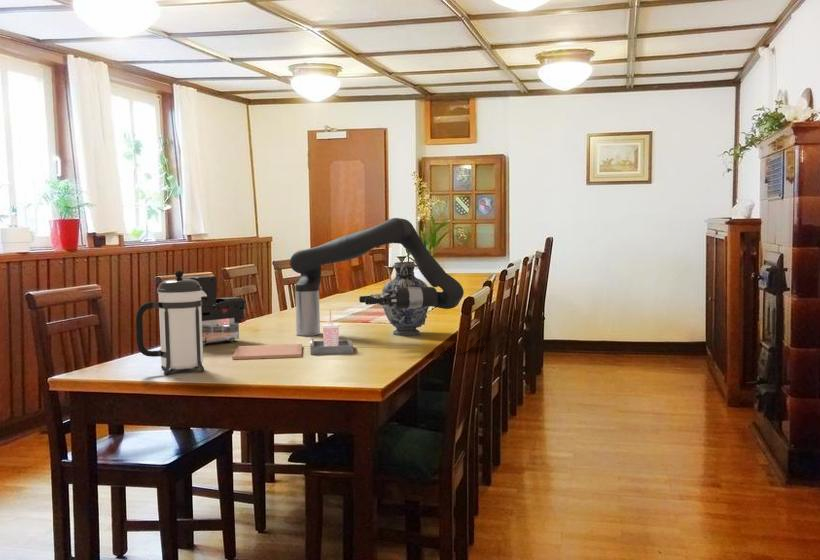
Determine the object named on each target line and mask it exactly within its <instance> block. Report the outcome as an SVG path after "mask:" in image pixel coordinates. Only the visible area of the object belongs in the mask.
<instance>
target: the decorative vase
mask: <svg viewBox="0 0 820 560" xmlns="http://www.w3.org/2000/svg"><path fill="white" fill-rule="evenodd" d="M391 268H393V269H394V270H395V277H394V278H393V279H390V280H389V281H387V282H385V284H384V285H383V287H382V292H381V294H384V293H388V294H390V295H392V294H393V289H394V288H403V287H429V286H428V284H427V283H426V282H425V281H423V280H422V279H420V278H417V277H416V276H415V272H414V270H415V268H418V267H417V264H416V262H415V261H398V262H394V264H393V265H392V266H391ZM382 309H383V311H384V314H385V316H386V318H387V320H388V322H389V323H390V324H391V325H392V326H393V327H394V328H396V329H394V330H393V332H392V335H395V336H403V337H404V336H408V335H409V336H416V335H420V334H421V331H420V330H419V329H418V328H422V326H424V325H425V324H426V323H425V322H426V319H427V317H428V316H427V314H428V311H429V307H419V308H412V309H395V308H394V306H393V304H391V305H382Z"/></svg>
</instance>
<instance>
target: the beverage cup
mask: <svg viewBox="0 0 820 560" xmlns="http://www.w3.org/2000/svg"><path fill="white" fill-rule="evenodd" d="M321 329H322V336H323V341H324V346H338V340H340V339H339V337H340V335H339V334H340V323H332V310H331V309H329V323H323V324H321Z"/></svg>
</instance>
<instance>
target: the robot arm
mask: <svg viewBox="0 0 820 560" xmlns="http://www.w3.org/2000/svg"><path fill="white" fill-rule="evenodd" d="M389 244H400V245H402V247H404V248H405V249H406V251H408V253H410V255H411V256H412V257H413V260H414V263H415V265H417V267H416V268H417V269H418V270H419V272H420V273H421V275H422V277H424V279H425V280H426V281H427V283H429V284H430V286H428V287H403V288H394V289H393V294H392V295H390V294H388V293H384V294H382V293H376V294H370V295H362V296H359V297H358V298H359V303H362V304H363V303H365V305H367V306H369V305H370V306H371V305H378V306H383V305H391V304H393V306H394V308H395V309H412V308H419V307H432V308H437V309H442V310H443V309H444V310H450V309H451V310H452V309H454V308H457V307H458V305H459V304H460V302H461V300H462V298H463V297H464V293H465V291H464V287H463V286H462V284H461V283H460V282H459V281H458V280H457V279H456V278H454V277H452V276H451V275H450V274H449V273H447V271H445V270H444V268H443V267H442V266H441V264H440V263H439V262H438V261H437V260H436V259H435V258H434V256H433V255H432V254H431V252H430V251H429V250H428V248H427V247H426V245H425V244H424V242H423V241H422V239H421V238H420V236H419V234H418V233H417V231H416V229H415V228H414V225H413V224H412V223H411V221H410V220H408V219H405V218H400V217H394V218H393V217H392V218H389V219H387V220H385V221H383V222H381V223H379V224H377V225H374V226H372V227H370V228H367V229H362V230H359V231H355V232H352V233H349V234H345V235H342V236H339V237H337V238H335V239H332V240H330V241H329V240H328V241H327V242H325V243H323V244H320V245H318V246H314V247H310V248H306V249H300V250H297V251H295V252H294V253H293V254H292V255H291V257H290V260H289V266H290V268H291V270H293V271H294V272H295V273H298V274H300V277H299V280H298V281H297V282H296V283H295V285H294V287H295V288H294V290H295V292H294V293H295V294H294V295H295V323H296V324H295V329H296V330H295V331H296V335H297V336H317V335H321V315H320V313H321V312H320V310H321V309H320V286H321V281H322V266H323V265H327V264H328V265H329V264H333V263H334V264H335V263H341V262H346V261H348V260H349V261H350V260H352V259H355V258H356V259H357V258H359V257H362V256H363V255H365V254H367V253H369V252H370V251H371V250H372V249H375V248H377V247H380V246H384V245H389ZM438 287H439V288H440V289H441V290H442V291H438V290H437V289H436V288H438Z"/></svg>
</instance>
